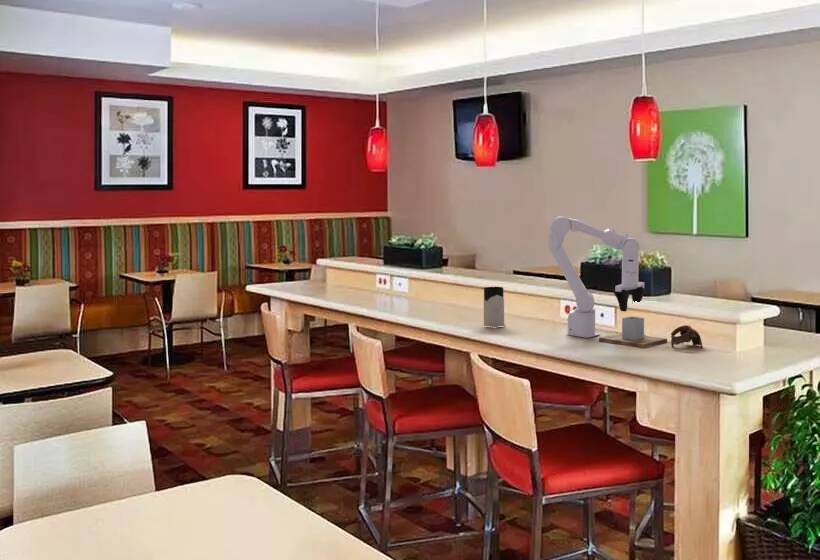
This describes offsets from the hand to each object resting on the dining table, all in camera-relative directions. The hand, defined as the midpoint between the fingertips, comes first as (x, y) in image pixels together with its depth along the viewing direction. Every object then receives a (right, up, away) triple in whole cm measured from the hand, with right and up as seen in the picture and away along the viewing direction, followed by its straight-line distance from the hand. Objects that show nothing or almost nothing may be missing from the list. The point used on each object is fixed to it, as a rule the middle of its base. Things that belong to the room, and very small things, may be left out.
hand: (629, 309), depth 307 cm
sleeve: (-1, -9, -10) cm, 13 cm away
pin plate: (-1, -11, -9) cm, 14 cm away
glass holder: (-46, -7, +30) cm, 56 cm away
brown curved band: (+14, -12, -20) cm, 27 cm away
